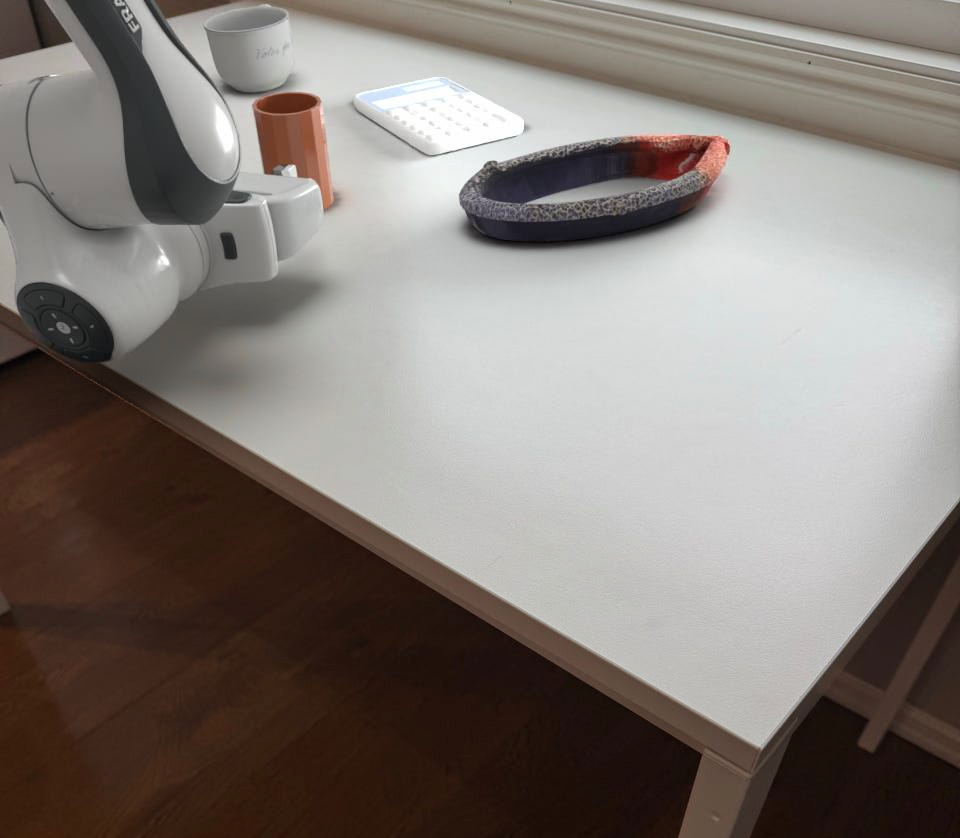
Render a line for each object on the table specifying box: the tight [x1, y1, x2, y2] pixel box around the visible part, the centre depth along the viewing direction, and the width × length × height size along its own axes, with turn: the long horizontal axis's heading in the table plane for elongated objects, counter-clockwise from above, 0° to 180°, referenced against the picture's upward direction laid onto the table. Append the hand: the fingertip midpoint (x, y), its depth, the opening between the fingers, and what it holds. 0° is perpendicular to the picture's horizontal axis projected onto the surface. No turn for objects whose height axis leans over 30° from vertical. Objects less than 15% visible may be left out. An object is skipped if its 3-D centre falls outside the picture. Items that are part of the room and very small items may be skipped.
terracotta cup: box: [251, 91, 335, 211], centre depth 97 cm, size 7×7×10 cm
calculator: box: [353, 76, 525, 156], centre depth 117 cm, size 13×20×2 cm, turn 31°
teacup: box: [202, 3, 296, 93], centre depth 126 cm, size 14×11×8 cm
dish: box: [458, 133, 731, 243], centre depth 97 cm, size 16×31×5 cm, turn 115°
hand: (241, 168), depth 88 cm, fingers open, 8 cm apart
